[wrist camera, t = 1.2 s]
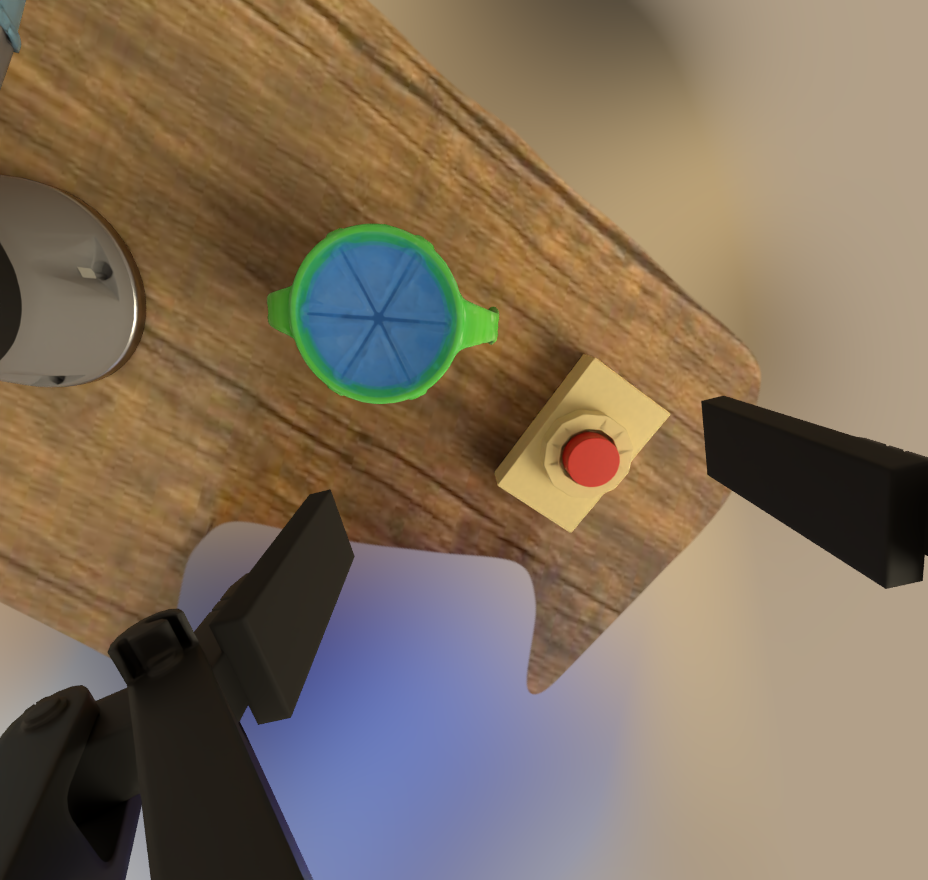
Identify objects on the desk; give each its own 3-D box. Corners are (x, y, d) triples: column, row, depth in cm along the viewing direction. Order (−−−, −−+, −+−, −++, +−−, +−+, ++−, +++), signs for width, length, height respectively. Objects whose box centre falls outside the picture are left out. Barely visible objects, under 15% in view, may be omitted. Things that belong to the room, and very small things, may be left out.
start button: (590, 488, 35) (597, 496, 34) (552, 462, 35) (556, 469, 33) (622, 449, 34) (631, 456, 33) (583, 422, 34) (590, 427, 32)
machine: (562, 517, 41) (576, 543, 36) (493, 472, 40) (499, 494, 35) (653, 406, 38) (682, 419, 33) (583, 353, 37) (602, 359, 32)
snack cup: (503, 268, 35) (521, 251, 25) (478, 396, 38) (486, 425, 28) (308, 229, 34) (247, 195, 24) (297, 363, 37) (239, 381, 27)
